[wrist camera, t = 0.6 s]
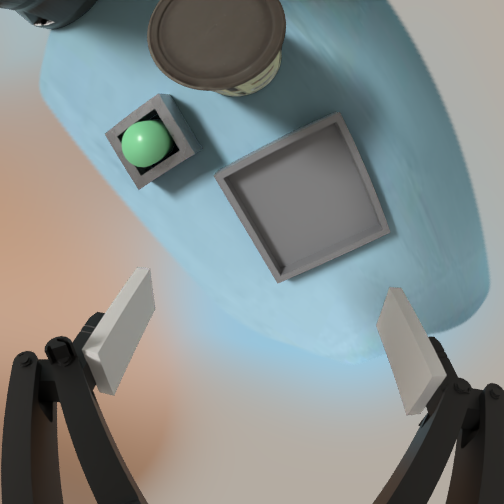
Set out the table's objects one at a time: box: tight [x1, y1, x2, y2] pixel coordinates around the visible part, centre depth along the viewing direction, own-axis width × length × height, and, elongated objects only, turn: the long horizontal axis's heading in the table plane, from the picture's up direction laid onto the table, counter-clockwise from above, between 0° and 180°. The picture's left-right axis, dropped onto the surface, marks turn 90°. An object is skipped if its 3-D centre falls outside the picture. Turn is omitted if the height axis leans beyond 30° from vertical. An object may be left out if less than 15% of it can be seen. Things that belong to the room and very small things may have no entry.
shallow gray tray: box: [214, 112, 390, 283], centre depth 36 cm, size 16×16×3 cm
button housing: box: [105, 94, 203, 189], centre depth 33 cm, size 8×8×4 cm
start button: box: [122, 120, 175, 167], centre depth 32 cm, size 5×5×4 cm
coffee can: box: [147, 0, 286, 96], centre depth 24 cm, size 10×10×14 cm
